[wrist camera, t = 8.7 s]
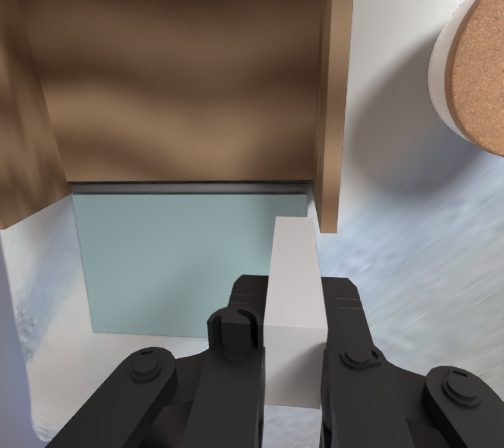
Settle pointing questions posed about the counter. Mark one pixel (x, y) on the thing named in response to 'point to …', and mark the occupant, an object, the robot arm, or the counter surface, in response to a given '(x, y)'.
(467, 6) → the lidded jar
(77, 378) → the counter surface
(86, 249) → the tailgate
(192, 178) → the open wooden tray
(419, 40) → the counter surface
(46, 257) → the counter surface
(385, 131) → the counter surface
